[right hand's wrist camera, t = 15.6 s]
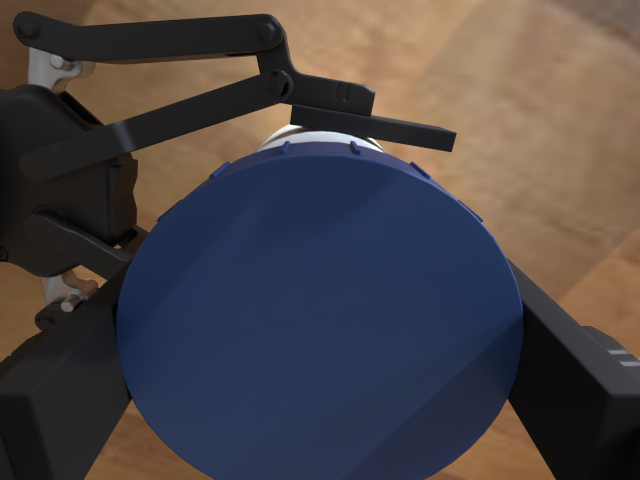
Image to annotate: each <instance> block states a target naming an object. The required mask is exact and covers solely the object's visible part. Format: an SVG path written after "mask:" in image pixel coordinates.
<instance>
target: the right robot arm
mask: <svg viewBox="0 0 640 480" xmlns="http://www.w3.org/2000/svg"><path fill="white" fill-rule="evenodd" d="M133 258H134V257H133ZM133 258H132V259H131V260H130V261H129V262H128V263H126V264H125V265H124V266H123V267H122V268H121V269H120V270H119V271H118V272H117V273H116V274H115V275H113V276H112V277H111V278H110V279H109V280H108V281H107V282H106V283H105V284H104V285H103V286H101V287H100V288H99V289H98V290H97V291H96V292H95V293H94V294H93V295H92V296H91V297H90V298H88V299H87V300H86V301H85V302H84V303H83V304H82V305H81V306H80V307H79V308H78V309H77V310H75V311H74V312H73V313H72V314H71V315H70V316H69V317H68V318H67V319H66V320H65V321H63V322H62V323H61V324H60V325H59V326H58V327H57V328H48V329H46V330H44V331H42V332H40V333H38V334H36V335H35V336H33V337H31V338H29V339H27V340H26V341H25V342H24V343H23V344H21V345H20V346H19V347H18V348H17V349H16V350H15V351H13V352H12V353H11V356H8V357H6V358H5V359H4V360H3V361H2V362H1V363H0V480H84V478H85V476H86V475H87V473H88V471H89V470H90V468H91V466H92V465H93V463H94V461H95V460H96V458H97V456H98V455H99V453H100V451H101V450H102V448H103V446H104V445H105V443H106V441H107V440H108V438H109V436H110V435H111V433H112V431H113V430H114V428H115V426H116V425H117V423H118V421H119V420H120V418H121V416H122V415H123V413H124V411H125V410H126V408H127V406H128V405H129V403H130V401H131V400H132V397H131V394H130V392H129V390H128V388H127V386H126V383H125V380H124V376H123V371H122V366H121V361H120V356H119V351H118V345H117V340H116V314H117V308H118V301H119V295H120V291H121V288H122V285H123V282H124V279H125V276H126V273H127V270H128V268H129V266H130V264H131V262H132V260H133ZM506 258H507V257H506ZM507 260H508V263H509V265H510V267H511V270H512V272H513V275H514V277H515V280H516V282H517V286H518V290H519V294H520V298H521V303H522V309H523V322H524V336H523V342H522V348H521V353H520V359H519V364H518V369H517V374H516V378H515V382H514V384H513V387H512V389H511V392H510V394H509V396H508V398H507V399H508V400H509V402H510V404H511V405H512V407H513V409H514V410H515V412H516V414H517V415H518V417H519V419H520V420H521V422H522V424H523V425H524V427H525V429H526V430H527V432H528V434H529V435H530V437H531V439H532V440H533V442H534V444H535V445H536V447H537V449H538V450H539V452H540V454H541V455H542V457H543V459H544V460H545V462H546V464H547V465H548V467H549V469H550V470H551V472H552V474H553V475H554V477H555V479H556V480H640V361H639V360H638V359H637V358H635V357H634V356H633V355H632V354H629V353H628V351H627V350H626V349H625V348H624V347H623V346H621V345H620V344H619V343H618V342H617V341H616V340H614V339H613V338H612V337H610V336H608V335H606V334H604V333H603V332H601V331H599V330H597V329H595V328H593V327H591V326H580V325H579V324H578V323H577V322H576V321H575V320H574V319H573V318H572V317H571V316H570V315H568V314H567V313H566V312H565V311H564V310H563V309H562V308H561V307H560V306H559V305H558V304H556V303H555V302H554V301H553V300H552V299H551V298H550V297H549V296H548V295H547V294H546V293H545V292H543V291H542V290H541V289H540V288H539V287H538V286H537V285H536V284H535V283H534V282H533V281H532V280H530V279H529V278H528V277H527V276H526V275H525V274H524V273H523V272H522V271H521V270H520V269H518V268H517V267H516V266H515V265H514V264H513V263H512V262H511V261H510V260H509V259H508V258H507Z"/></svg>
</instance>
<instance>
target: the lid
mask: <svg viewBox="0 0 640 480" xmlns="http://www.w3.org/2000/svg"><path fill="white" fill-rule="evenodd" d="M209 177H210V178H209V179H207V180H206V181H205V182H203V183H202V184H201V185H199V186H198V187H197V188H196V189H195V190H193V191H192V192H191V193H190V194H189V195H187V196H186V197H185V198H184V199H183V200H182V199H181V200H180V201H179V202H177V203H176V204H175V205H174V206H173V207H171V208H170V209H169V210H168V211H166V212H165V213H164V214H163V215H162V216H160V217H159V218H158V219H157V222H158V223H157V224H156V225H155V226H154V228H153V229H152V230H151V232H150V233H149V235H148V236H147V237H146V239H145V240H144V241H143V243H142V244H141V246H140V247H139V248H138V250H137V252H136V254H135V256H134V258H133V260H132V262H131V264H130V266H129V268H128V270H127V273H126V276H125V279H124V282H123V285H122V288H121V291H120V295H119V301H118V308H117V314H116V340H117V345H118V351H119V356H120V361H121V366H122V371H123V376H124V380H125V383H126V386H127V388H128V390H129V392H130V394H131V397H132V399H133V401H134V403H135V405H136V407H137V408H138V410H139V411H140V413H141V414H142V416H143V417H144V419H145V420H146V422H147V423H148V425H149V426H150V427H151V428H152V429H153V431H154V432H155V433H156V434H157V435H158V436H159V438H160V439H161V440H162V441H163V442H164V443H165V444H166V445H167V446H168V447H169V448H171V449H172V450H173V451H174V452H175V453H176V454H177V455H178V456H179V457H181V458H182V459H184V460H185V461H186V462H188V463H189V464H190V465H192V466H193V467H195V468H196V469H197V470H199V471H201V472H203V473H204V474H206V475H208V476H210V477H211V478H213V479H215V480H424V479H426V478H428V477H430V476H432V475H434V474H435V473H437V472H439V471H440V470H442V469H443V468H445V467H446V466H448V465H449V464H451V463H452V462H454V461H455V460H456V459H457V458H459V457H460V456H461V455H462V454H463V453H465V452H466V451H467V450H468V449H470V447H471V446H472V445H473V444H474V443H475V442H476V441H477V440H478V439H479V438H480V437H481V436H482V435H483V434H484V433H485V432H486V430H487V429H488V428H489V426H490V425H491V424H492V422H493V421H494V420H495V418H496V417H497V416H498V414H499V412H500V411H501V409H502V407H503V405H504V404H505V402H506V400H507V398H508V396H509V394H510V392H511V389H512V387H513V384H514V382H515V378H516V374H517V369H518V364H519V359H520V353H521V348H522V342H523V336H524V322H523V309H522V303H521V298H520V294H519V290H518V286H517V282H516V280H515V277H514V275H513V272H512V270H511V267H510V265H509V263H508V260H507V258H506V257H505V255H504V253H503V252H502V250H501V248H500V247H499V245H498V244H497V242H496V240H495V239H494V237H493V236H492V235H491V233H490V232H489V231H488V230H487V229H486V228H485V226H484V225H483V224H482V222H483V220H482V219H481V218H480V217H479V216H478V215H477V214H475V213H474V212H473V211H472V210H471V209H469V208H468V207H467V206H466V205H464V204H463V203H462V202H461V201H460V200H457V199H456V198H454V197H453V196H452V195H451V194H450V193H448V192H447V191H446V190H445V189H444V188H442V187H441V186H440V185H439V184H438V183H436V182H435V181H434V180H433V179H432V178H430V177H431V176H430V175H429V174H427V173H426V172H425V171H424V170H422V169H421V168H420V167H419V166H418V165H416V164H415V163H414V162H411V163H410V164H409V163H406V162H404V161H402V160H400V159H398V158H396V157H394V156H391V155H389V154H387V153H384V152H381V151H377V150H374V149H371V148H368V147H364V146H359V145H357V144H356V142H355V141H351V142H350V144H347V143H341V142H320V141H311V142H301V143H291V144H290V142H289V141H285V142H284V144H283V145H281V146H277V147H273V148H268V149H264V150H261V151H259V152H256V153H254V154H251V155H249V156H246V157H243V158H241V159H239V160H237V161H235V162H233V163H232V164H230V163H229V162H226V163H225V164H223V165H222V166H221V167H220V168H218V169H217V170H216V171H215V172H214V173H212V174H211V175H210V176H209Z"/></svg>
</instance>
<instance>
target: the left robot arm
mask: <svg viewBox="0 0 640 480" xmlns="http://www.w3.org/2000/svg"><path fill="white" fill-rule="evenodd" d="M13 28H14V33H15V35H16V37H17V38H18V39H19V40H20V41H21V42H22V43H23V44H24V45H26V46H28V47H29V62H28V80H27V84H24V85H20V86H18V87H16V88H13V89H11V90H3V89H0V262H9V263H12V264H15V265H17V266H19V267H21V268H23V269H25V270H26V271H28V272H30V273H31V274H33V275H36V276H39V277H40V279H41V283H42V288H43V293H44V298H45V303H46V307H45V308H43V309H42V310H41V311H40V312H38V313H37V314H36V316H35V323H36V326H37V327H38V328H39V329H40V330H42V331H44V330H46V329H48V328H57V327H58V326H59V325H60V324H61V323H62V322H63V321H65V320H66V319H67V318H68V317H69V316H70V315H71V314H72V313H73V312H74V311H75V310H77V309H78V308H79V307H80V306H81V305H82V304H83V303H84V302H85V301H86V300H87V299H88V298H90V297H91V296H92V295H93V294H94V293H95V292H96V291H97V290H98V289H99V288H98V283H97V282H96V281H94V280H89V281H85V280H82V279H80V278H78V277H77V276H76V275H75V274H74V273H73V271H72V269H73V268H75V267H77V266H79V265H82V266H84V267H86V268H87V269H89V270H91V271H92V272H94V273H96V274H98V275H99V276H101V277H103V278H104V279H106V280H109V279H110V278H111V277H112V276H113V275H115V274H116V273H117V272H118V271H119V270H120V269H121V268H122V267H123V266H124V265H125V264H126V263H128V262H129V261H130V260H131V259H132V258H133V257H134V256H135V254H136V252H137V250H138V248H139V247H140V246H141V244H142V243H143V241H144V240H145V239H146V237H147V236H148V235H149V232H147V231H145V230H144V229H142V228H141V227H139V226H137V225H136V224H137V207H136V203H135V199H134V196H133V189H134V186H135V182H136V179H137V171H138V160H135V159H133V158H132V155H131V152H133V151H136V150H139V149H142V148H145V147H148V146H151V145H154V144H157V143H160V142H163V141H166V140H169V139H172V138H175V137H178V136H181V135H184V134H187V133H190V132H193V131H196V130H200V129H203V128H206V127H209V126H212V125H215V124H218V123H221V122H224V121H227V120H230V119H233V118H236V117H239V116H242V115H245V114H248V113H251V112H254V111H257V110H260V109H263V108H267V107H270V106H273V105H276V104H279V103H284V104H289V105H292V112H291V120H290V125H294V126H300V127H306V128H312V129H318V130H324V131H330V132H337V133H342V134H347V135H353V136H359V137H365V138H371V139H377V140H383V141H389V142H394V143H400V144H406V145H412V146H418V147H424V148H430V149H436V150H442V151H447V152H452V149H453V145H454V141H455V137H456V134H457V133H455V132H452V131H449V130H446V129H443V128H440V127H437V126H431V125H425V124H419V123H414V122H408V121H402V120H396V119H390V118H385V117H379V116H373V115H371V112H372V107H373V102H374V97H375V92H374V91H372V90H371V89H369V88H368V87H366V86H365V85H361V84H355V83H350V82H344V81H338V80H333V79H327V78H322V77H316V76H310V75H305V74H302V73H300V72H298V71H297V70H296V69H295V68H294V66H293V64H292V62H291V58H290V53H289V48H288V43H287V36H286V32H285V30H284V29H283V27H282V26H281V24H280V23H279V21H278V20H277V19H276V18H275V17H273V16H272V15H269V14H255V15H240V16H225V17H211V18H196V19H181V20H167V21H152V22H137V23H122V24H108V25H93V26H81V25H78V24H75V23H71V22H68V21H64V20H60V19H57V18H53V17H49V16H45V15H41V14H37V13H33V12H27V11H24V12H21V13H18V15H17V16H16V17H15V18H14V22H13ZM244 56H256V57H257V61H258V66H259V70H260V75H257V76H254V77H251V78H248V79H245V80H242V81H239V82H236V83H233V84H230V85H227V86H224V87H221V88H218V89H215V90H212V91H209V92H206V93H203V94H200V95H197V96H195V97H192V98H189V99H186V100H183V101H180V102H177V103H174V104H171V105H168V106H165V107H162V108H159V109H156V110H153V111H150V112H147V113H144V114H141V115H138V116H135V117H132V118H129V119H126V120H123V121H119V122H116V123H112V124H109V125H106V126H105V125H104V124H103V123H102V122H100V121H99V120H98V119H97V118H96V117H95V116H94V115H93V114H91V113H90V112H89V111H88V110H87V109H86V108H85V107H84V106H82V105H81V104H80V103H79V102H78V101H77V100H76V99H75V98H73V97H72V96H71V95H70V94H69V93H68V92H66V91H65V88H66V85H67V83H68V82H69V81H70V80H72V79H75V78H87V77H89V76H90V75H91V74H92V73H93V70H94V68H95V62H98V63H108V64H138V63H153V62H168V61H184V60H199V59H214V58H229V57H244ZM117 244H118V245H119V246H121V247H122V248H120V249H115V248H113V247H115V246H116V245H117Z"/></svg>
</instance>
